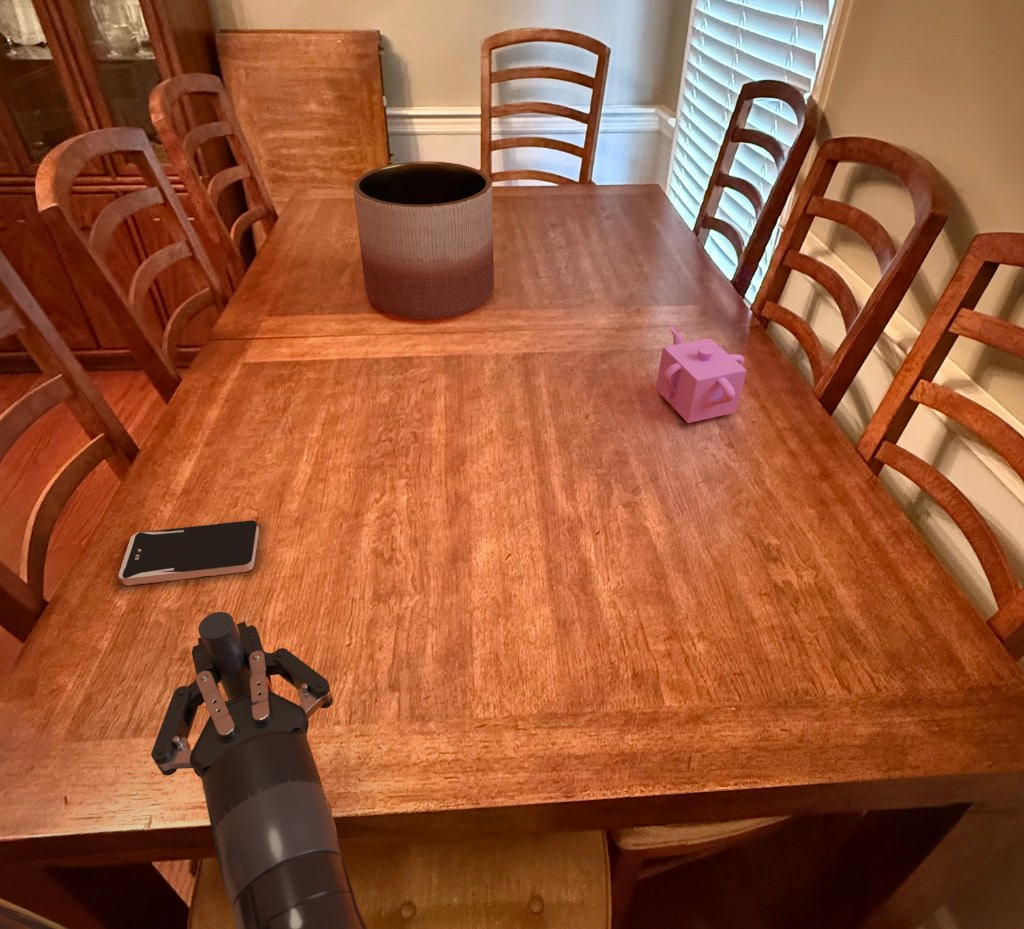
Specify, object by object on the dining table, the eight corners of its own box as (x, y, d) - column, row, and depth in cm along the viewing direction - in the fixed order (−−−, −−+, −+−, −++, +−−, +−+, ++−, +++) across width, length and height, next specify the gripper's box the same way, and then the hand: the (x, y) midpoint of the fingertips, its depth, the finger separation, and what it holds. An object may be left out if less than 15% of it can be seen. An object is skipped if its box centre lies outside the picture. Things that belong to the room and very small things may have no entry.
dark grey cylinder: (252, 725, 61) (218, 643, 53) (228, 714, 61) (190, 632, 54) (271, 700, 62) (240, 617, 55) (247, 690, 63) (213, 607, 55)
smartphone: (251, 564, 83) (116, 579, 80) (253, 571, 83) (120, 587, 81) (257, 519, 88) (132, 533, 86) (259, 527, 89) (135, 540, 87)
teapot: (629, 380, 116) (637, 326, 110) (701, 365, 120) (713, 312, 113) (685, 443, 103) (698, 385, 97) (764, 424, 107) (781, 368, 100)
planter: (360, 274, 146) (345, 165, 132) (478, 262, 151) (475, 156, 137) (374, 333, 127) (358, 212, 113) (508, 316, 133) (509, 200, 118)
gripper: (363, 748, 48) (296, 577, 60) (146, 849, 43) (119, 640, 54) (374, 797, 53) (311, 630, 64) (181, 893, 48) (149, 693, 59)
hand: (223, 636), depth 59 cm, fingers closed on dark grey cylinder, 2 cm apart
